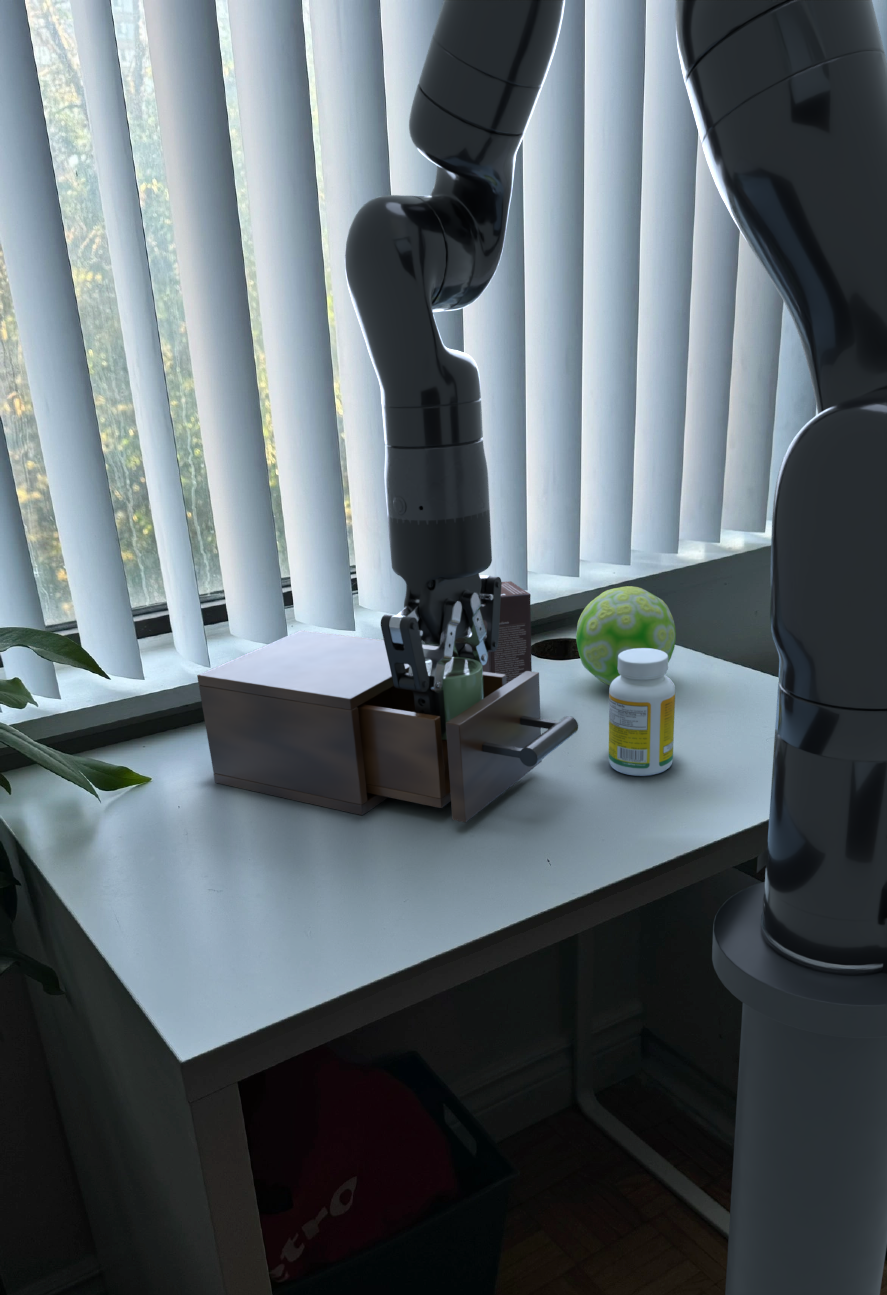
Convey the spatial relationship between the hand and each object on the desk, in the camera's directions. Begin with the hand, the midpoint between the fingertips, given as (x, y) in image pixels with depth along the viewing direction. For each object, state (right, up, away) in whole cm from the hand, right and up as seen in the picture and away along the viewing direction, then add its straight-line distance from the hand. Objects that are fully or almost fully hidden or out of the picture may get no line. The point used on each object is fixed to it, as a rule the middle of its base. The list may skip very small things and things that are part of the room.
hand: (452, 721), depth 86 cm
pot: (0, 0, 0) cm, 1 cm away
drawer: (0, -5, +2) cm, 5 cm away
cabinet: (-10, -3, +9) cm, 14 cm away
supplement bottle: (+16, -3, +5) cm, 17 cm away
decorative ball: (+18, +5, +23) cm, 30 cm away
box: (+5, +2, +19) cm, 20 cm away
